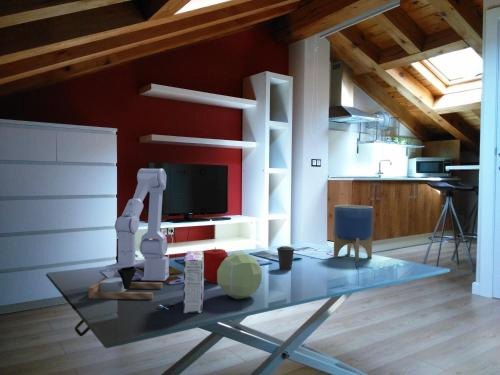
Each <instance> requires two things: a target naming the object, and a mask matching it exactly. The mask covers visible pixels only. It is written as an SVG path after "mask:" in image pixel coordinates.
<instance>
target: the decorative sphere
mask: <svg viewBox="0 0 500 375" xmlns="http://www.w3.org/2000/svg"><path fill="white" fill-rule="evenodd" d="M262 279H263V269H262V267H261V265H260V264H259V262H258V260H257V259H256V258H255V257H253V256H251V255H249V254H247V253H245V252H233V253H231V254H229V255H228V257H227V258H225V259H224V261H222V263H221V265H220V267H219V269H218V271H217V282H218V283H217V284H218V286H219V287H220V290H221V291H222V292H223V293H224V294H225V295H227V296H229V297H231V298H233V299H235V300H242V299H247V298H249V297H250V296H251V295H253V294H255V293H256V292H257V290H259V287H260V285H261V283H262Z"/></svg>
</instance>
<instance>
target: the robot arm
mask: <svg viewBox="0 0 500 375" xmlns="http://www.w3.org/2000/svg"><path fill="white" fill-rule="evenodd" d="M136 179H137V185H136V188H135V193H134V194H133V197H132V198H130V199H128V201H127V203H126V206H125V207H124V210H123V212H122V214H121V216H119V217H117V218H116V220H115V223H114V230H115V234H116V238H117V239H118V240H117V242H118V243H117V245H118V247H117V252H118V253H117V255H118V258H117V260H118V261H117V262H115V263H112V264H108V265H105V272H107V273H112V272H115V271H117V273H118V275H119V278H121V279H122V282H123V285H124V289H126V291H127V290H130V289H131V288H130V285H131V282H133V278H134V276H135V274H136V272H137V267H143V268H144V269H143V272H144V273H143V274H144V275H143V277H142V278H140V281H166V280H167V279H168V278H169V276H170V271H169V270H170V260H169V257H168V256H165V255H166V253H167V252H168V240H167V236H166V235H165V234H164V233H163V232H161V225H162V209H163V207H162V206H163V193H164V192H163V191H165V190H167V189H166V188H167V187H166V186H167V174H166V171H165V168H140V169H138V171H137V176H136ZM148 193H149V199H148V200H149V201H148V215H147V216H148V217H147V218H148V220H147V231H146V232H145V233H144V234H142V236H141V239H140V243H139V247H138V248H139V252H140V254H141V255H142V257H144V259H137V260H136V233H137V231H138V230H139V226H140V225H139V224H140V216H141V213H142V211H143V209H144V203H143V201H144V199H145V198H146V196H147V195H148Z"/></svg>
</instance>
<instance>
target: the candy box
mask: <svg viewBox="0 0 500 375" xmlns="http://www.w3.org/2000/svg"><path fill="white" fill-rule="evenodd" d="M204 279H205V278H204V250H200V251H199V250H196V251H195V250H193V251H189V250H188V251H186V253H185V256H184V260H183V314H202V313H201V312H203V304H204V288H205V287H204V283H205V282H204V281H205V280H204Z"/></svg>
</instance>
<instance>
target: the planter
mask: <svg viewBox="0 0 500 375" xmlns="http://www.w3.org/2000/svg"><path fill="white" fill-rule="evenodd" d="M333 208H334V210H333V211H334V212H333V213H334V214H333V217H334V218H333V234H334V235H333V257H334V258H339V253H340V251H341V250H342V248H343V247H345V246H346V253H347V255H351V250H352V246H353V250H354V261H355V262H356V263H357V262H360V246H361V247H362V248H363V249H364V250H365V253H366V257H367V258H368V259H372V258H373V256H372V255H373V236H374V234H373V233H374V232H373V231H374V229H373V228H374V207H373V206H370V205H361V204H360V205H359V204H358V205H357V204H335V205H334V206H333Z"/></svg>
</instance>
